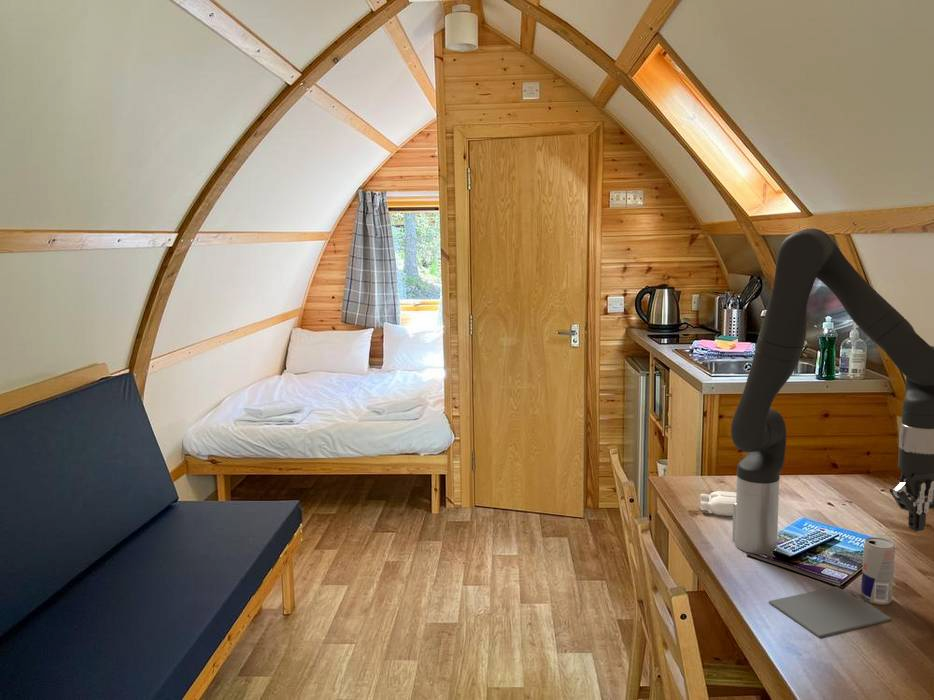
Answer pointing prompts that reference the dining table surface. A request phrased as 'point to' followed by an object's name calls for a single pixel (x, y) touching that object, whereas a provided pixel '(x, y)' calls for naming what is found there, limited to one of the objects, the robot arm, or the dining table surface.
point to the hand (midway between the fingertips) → (916, 529)
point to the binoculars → (719, 502)
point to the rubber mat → (829, 611)
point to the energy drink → (878, 570)
